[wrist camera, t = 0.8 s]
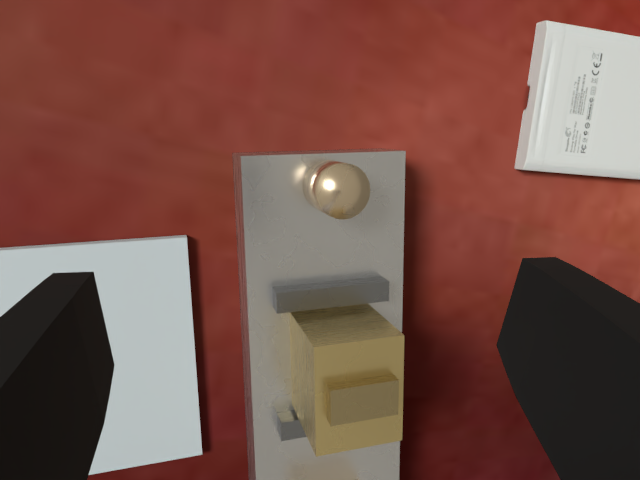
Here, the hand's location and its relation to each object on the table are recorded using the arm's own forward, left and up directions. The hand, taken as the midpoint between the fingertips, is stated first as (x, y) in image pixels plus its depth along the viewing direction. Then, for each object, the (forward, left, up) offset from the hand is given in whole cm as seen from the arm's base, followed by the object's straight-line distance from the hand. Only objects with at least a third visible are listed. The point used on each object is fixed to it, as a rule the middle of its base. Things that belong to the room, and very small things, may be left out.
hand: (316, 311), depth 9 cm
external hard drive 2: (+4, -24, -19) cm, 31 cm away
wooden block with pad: (-8, -5, -15) cm, 18 cm away
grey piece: (-8, -5, -18) cm, 21 cm away
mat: (-8, +6, -18) cm, 21 cm away
